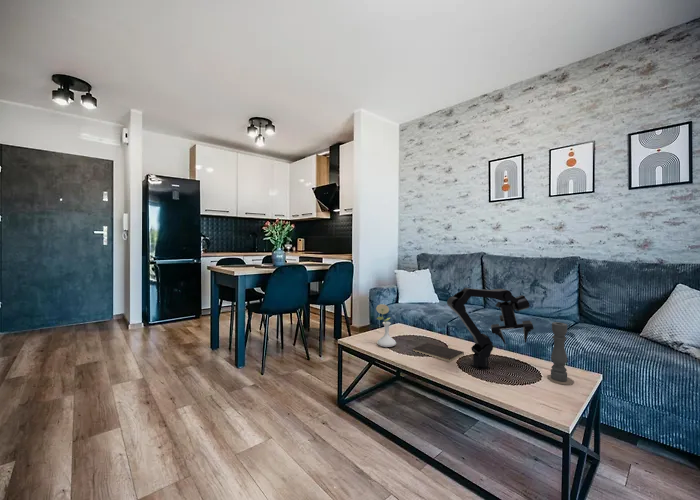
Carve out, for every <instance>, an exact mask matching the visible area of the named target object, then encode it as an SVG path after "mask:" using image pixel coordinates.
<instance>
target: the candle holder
mask: <svg viewBox="0 0 700 500" xmlns="http://www.w3.org/2000/svg"><path fill="white" fill-rule="evenodd" d="M551 330H552V333H553V335H552V339H553V340H554V341H553V349H552V351H551V355H550V360H551V361H552V362H553V364H552V366H551V369H550V375H551V379H553V380H555V381H559V382H566V381H567V377H568V370H567V368H566V364H567V362H568V356H567V352H566V347H565V342H566V341H567V337H566V334H567V333H568V324H567V323H565V322H558V321H553V322H551Z"/></svg>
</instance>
